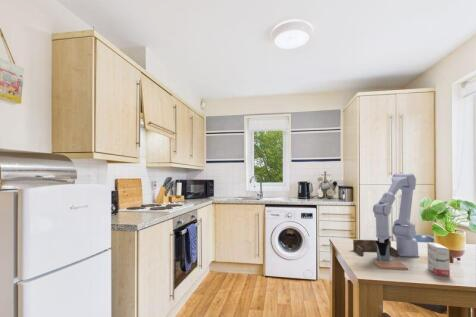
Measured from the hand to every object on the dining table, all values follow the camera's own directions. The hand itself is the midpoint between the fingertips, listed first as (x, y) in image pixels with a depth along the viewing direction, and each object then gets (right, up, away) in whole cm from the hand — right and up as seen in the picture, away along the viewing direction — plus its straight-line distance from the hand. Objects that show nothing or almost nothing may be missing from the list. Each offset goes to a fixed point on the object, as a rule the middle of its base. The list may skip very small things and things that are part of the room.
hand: (383, 253), depth 131 cm
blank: (0, -3, 0) cm, 3 cm away
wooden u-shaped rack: (+1, -4, +10) cm, 10 cm away
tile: (-2, -2, -10) cm, 10 cm away
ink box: (+15, -2, -17) cm, 23 cm away
